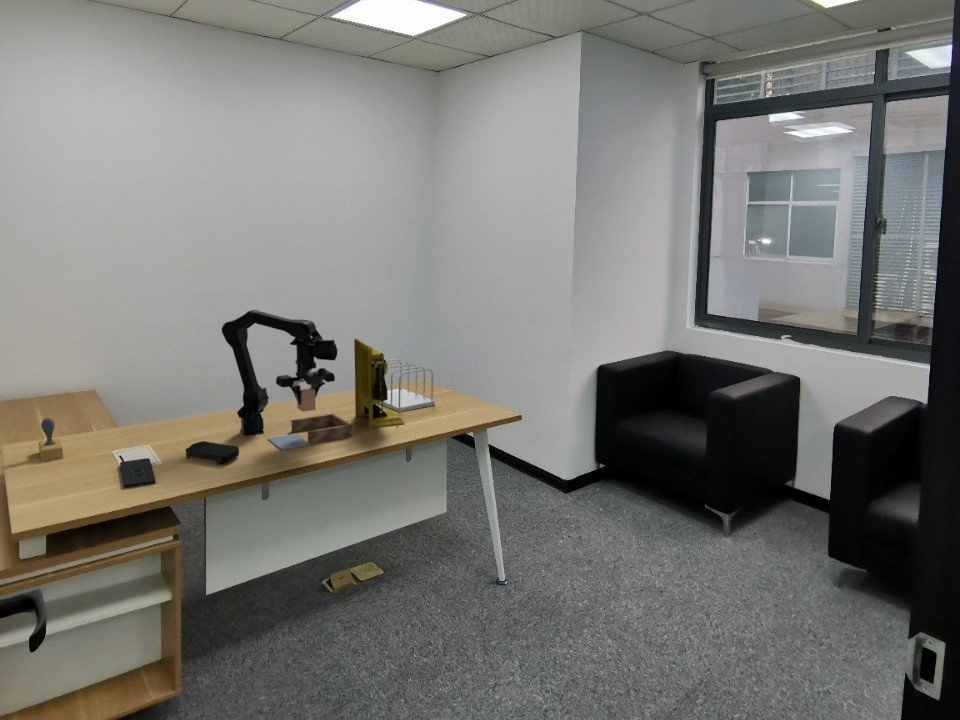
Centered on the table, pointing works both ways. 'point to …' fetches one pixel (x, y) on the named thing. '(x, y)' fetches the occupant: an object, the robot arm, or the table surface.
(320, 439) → the brown open boxy piece
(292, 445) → the slate mat
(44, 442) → the rubber stamp
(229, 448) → the black sponge
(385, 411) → the vintage telephone
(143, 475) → the smart home device
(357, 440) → the table surface
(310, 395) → the terracotta block
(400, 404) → the file sorter
